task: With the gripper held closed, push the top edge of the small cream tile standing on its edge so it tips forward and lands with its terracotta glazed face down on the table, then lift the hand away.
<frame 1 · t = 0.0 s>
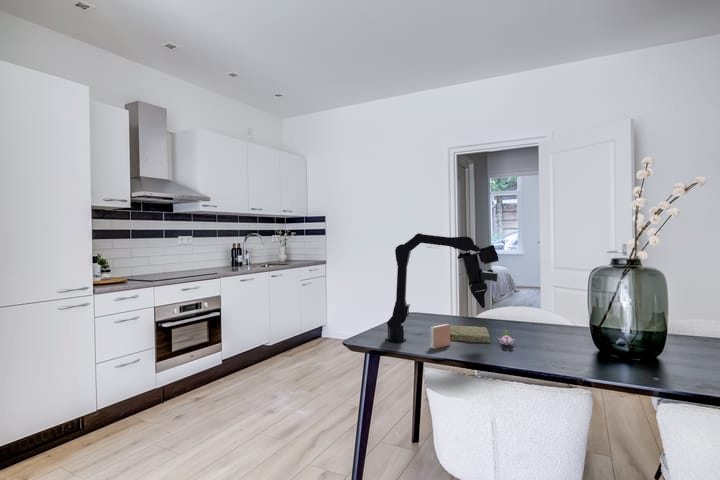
hand: (482, 305, 162), 15 cm above the table, tool pointing down, fingers open, 9 cm apart
standing tile: (439, 346, 161), on the table
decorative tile: (464, 338, 176), on the table
pink bulbous piece: (506, 345, 162), on the table
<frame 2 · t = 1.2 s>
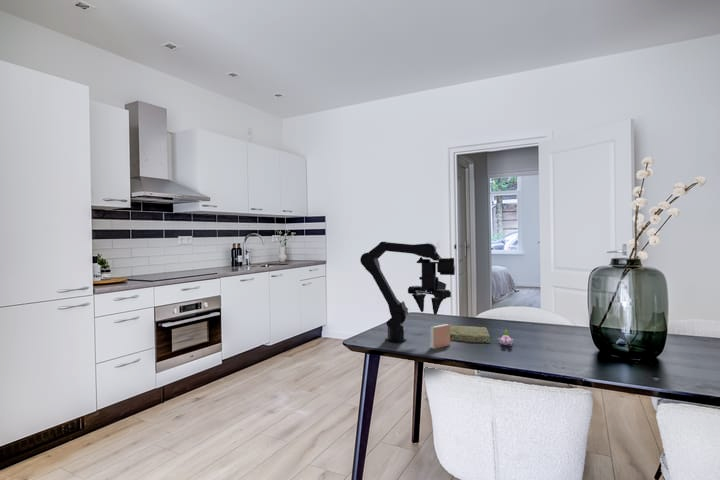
hand: (428, 313, 166), 12 cm above the table, tool pointing down, fingers open, 7 cm apart
nothing on the table moved.
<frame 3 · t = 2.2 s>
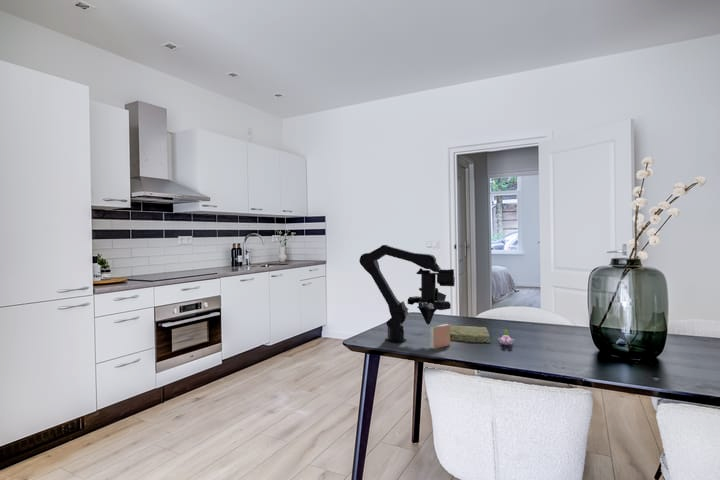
hand: (428, 324, 166), 8 cm above the table, tool pointing down, fingers closed
nothing on the table moved.
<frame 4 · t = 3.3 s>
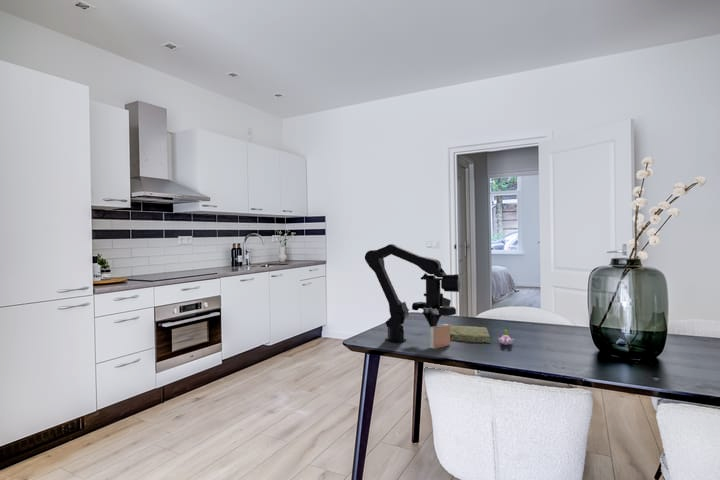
hand: (433, 330, 164), 6 cm above the table, tool pointing down, fingers closed
nothing on the table moved.
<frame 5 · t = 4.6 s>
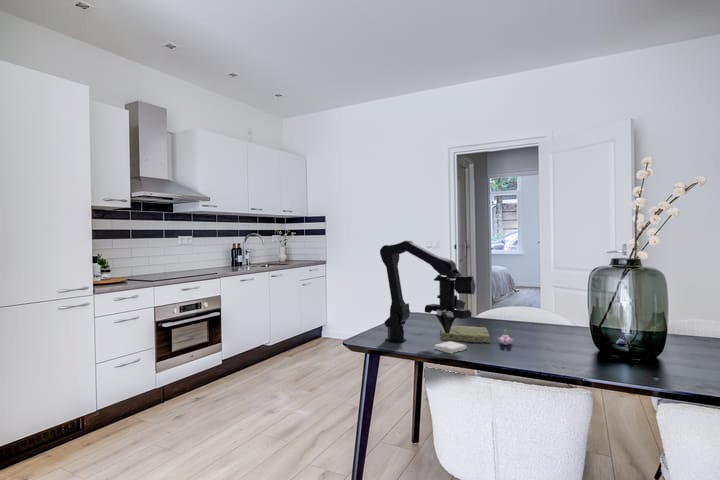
hand: (447, 333, 158), 6 cm above the table, tool pointing down, fingers closed
standing tile: (442, 345, 160), point 1 cm above the table, tilted 90°
everything else where it was.
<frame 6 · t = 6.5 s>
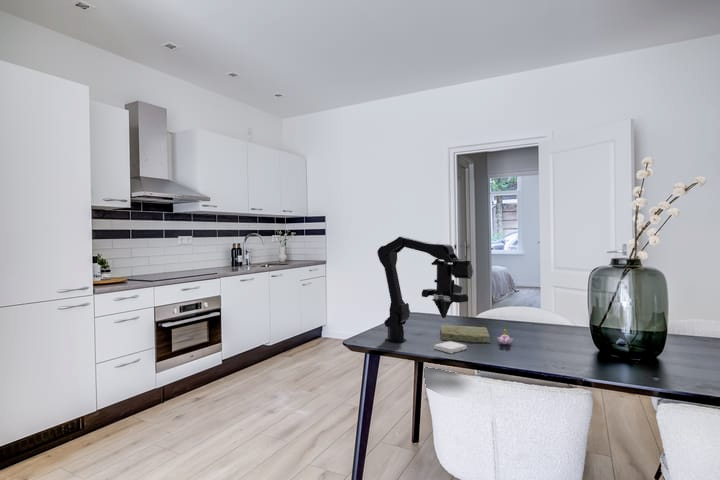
hand: (443, 317, 158), 12 cm above the table, tool pointing down, fingers closed
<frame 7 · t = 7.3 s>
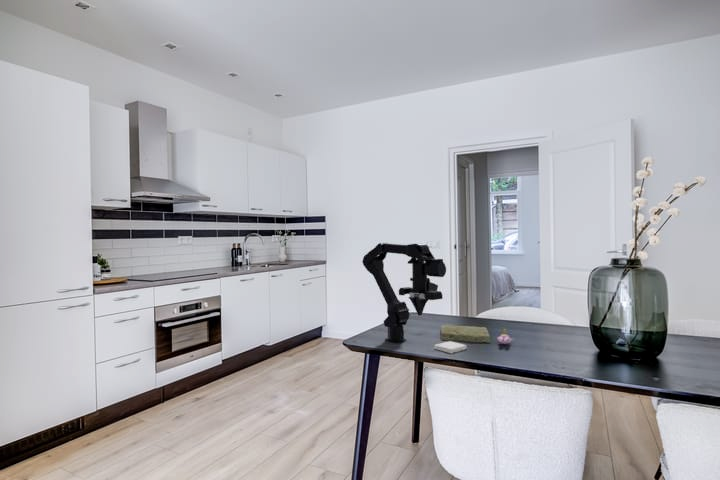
hand: (419, 315, 161), 12 cm above the table, tool pointing down, fingers closed
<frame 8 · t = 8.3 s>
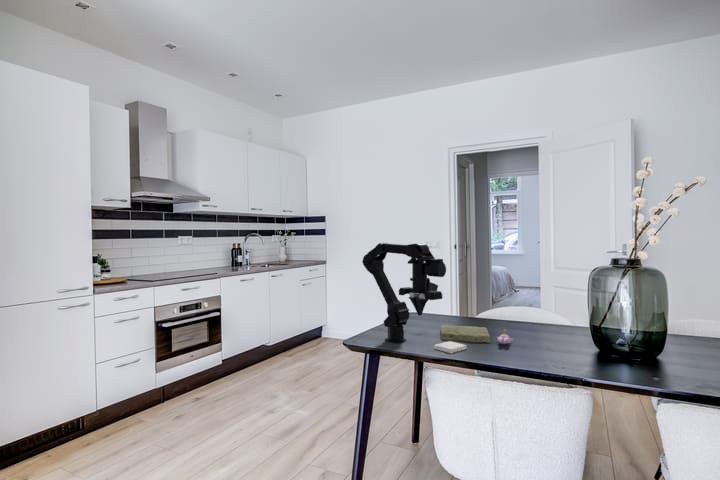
hand: (419, 315, 161), 12 cm above the table, tool pointing down, fingers closed
at the end: standing tile tilted 90°; standing tile inside the target area (1.8 cm from its centre), point 0.7 cm above the table; the gripper is holding nothing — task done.
